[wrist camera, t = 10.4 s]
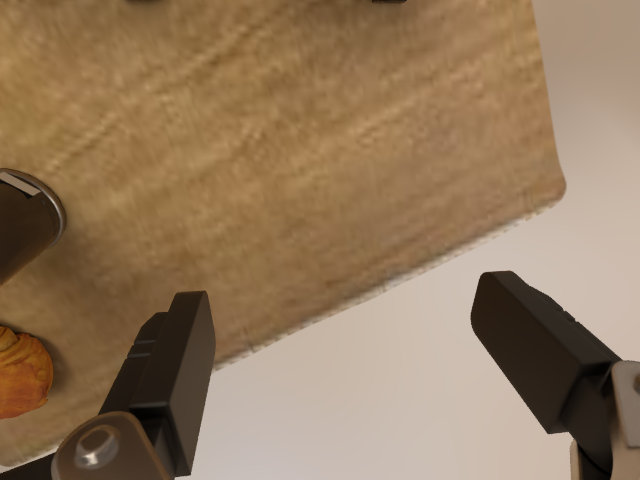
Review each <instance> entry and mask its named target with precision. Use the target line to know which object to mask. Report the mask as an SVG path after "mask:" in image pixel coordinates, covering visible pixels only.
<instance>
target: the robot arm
mask: <svg viewBox="0 0 640 480" xmlns="http://www.w3.org/2000/svg"><path fill="white" fill-rule="evenodd" d="M65 225H66V218H65V213H64V210H63V207H62V205H61V203H60V201H59V200H58V198H57V197H56V196H55V195H54V193H53V192H52V191H51V190H50V189H49V188H48V187H47V186H45V185H44V184H43V183H41V182H40V181H38V180H37V179H35V178H33V177H31V176H29V175H27V174H25V173H22V172H19V171H15V170H11V169H3V168H0V287H1V286H3V285H4V284H5V283H6V282H7V281H9V280H10V279H11V278H12V277H13V276H15V275H16V274H17V273H18V272H19V271H21V270H22V269H23V268H24V267H25V266H27V265H28V264H29V263H30V262H31V261H33V260H34V259H35V258H36V257H37V256H39V255H40V254H41V253H42V252H43V251H44V250H46V249H48V248H49V247H51V246H52V245H53V244H54V243H56V242H57V241H58V240H59V239H60V238H61V236H62V235H63V233H64V230H65ZM471 325H472V328H473V331H474V333H475V334H476V336H477V337H478V339H479V340H480V341H481V343H482V344H483V345H484V347H485V348H486V349H487V351H488V352H489V354H490V355H491V356H492V358H493V359H494V361H495V362H496V363H497V365H498V366H499V368H500V369H501V370H502V372H503V373H504V374H505V376H506V377H507V379H508V380H509V381H510V383H511V384H512V385H513V387H514V388H515V389H516V391H517V392H518V394H519V395H520V396H521V398H522V399H523V401H524V402H525V403H526V405H527V406H528V407H529V409H530V410H531V412H532V413H533V414H534V416H535V417H536V418H537V420H538V421H539V423H540V424H541V425H542V427H543V428H544V429H545V431H546V432H547V434H554V433H562V432H569V433H570V434H571V435H572V437H573V438H574V439H573V441H572V443H571V446H570V464H571V480H640V362H637V361H629V360H628V361H623V360H622V359H621V358H620V357H618V356H617V355H616V354H615V353H614V352H613V351H611V350H610V349H609V348H608V347H607V346H606V345H605V344H604V343H602V342H601V341H600V340H599V339H598V338H597V337H595V336H594V335H593V334H592V333H591V332H590V331H589V330H587V329H586V328H585V327H584V326H583V325H582V324H580V323H579V322H576V321H575V318H573V317H572V316H571V315H570V314H569V313H568V312H567V311H563V308H562V307H561V306H560V305H559V304H557V303H556V302H555V301H554V300H553V299H552V298H551V297H549V296H548V295H546V294H544V293H542V292H540V291H538V290H537V289H535V288H533V287H531V286H529V285H528V284H526V283H525V282H524V281H523V280H522V279H521V278H520V277H519V276H518V275H516V274H515V273H514V272H512V271H496V272H485V273H483V274H482V275H481V276H480V279H479V282H478V286H477V290H476V294H475V298H474V303H473V306H472V311H471ZM214 356H215V332H214V326H213V321H212V315H211V310H210V305H209V299H208V295H207V292H206V291H192V292H178V293H176V294H175V296H174V299H173V301H172V304H171V306H170V308H169V311H168V312H159V313H155V314H154V315H153V316H152V317H151V318H150V319H149V320H148V321H147V322H146V323H145V324H144V325H143V326H142V327H141V329H140V331H139V333H138V335H137V337H136V339H135V341H134V345H132V347H131V349H130V351H129V353H128V355H127V359H125V361H124V363H123V365H122V367H121V369H120V371H119V373H118V375H117V377H116V379H115V381H114V383H113V385H112V387H111V389H110V392H109V394H108V396H107V398H106V400H105V402H104V404H103V406H102V408H101V410H100V412H99V414H98V415H97V416H95V417H93V418H91V419H89V420H88V421H86V422H84V423H83V424H81V425H80V426H79V427H77V428H76V429H75V430H73V431H72V432H71V433H70V434H69V435H68V436H67V437H66V438H65V440H64V441H63V442H62V443H61V445H60V446H59V448H58V449H57V451H56V452H55V453H52V454H50V455H48V456H45V457H43V458H40V459H38V460H35V461H32V462H30V463H27V464H24V465H22V466H19V467H16V468H14V469H11V470H9V471H6V472H3V473H0V480H174V478H175V477H180V476H189V475H191V471H192V466H193V461H194V456H195V451H196V445H197V441H198V436H199V431H200V426H201V421H202V416H203V411H204V406H205V401H206V396H207V391H208V386H209V381H210V376H211V371H212V366H213V361H214Z"/></svg>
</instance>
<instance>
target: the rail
mask: <svg viewBox="0 0 640 480" xmlns="http://www.w3.org/2000/svg"><path fill="white" fill-rule="evenodd" d="M406 1H407V0H372V3H403V2H406Z"/></svg>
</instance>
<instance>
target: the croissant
mask: <svg viewBox="0 0 640 480" xmlns="http://www.w3.org/2000/svg"><path fill="white" fill-rule="evenodd" d="M53 374H54V372H53V365H52V360H51V358H50V356H49V354H48V352H47V351H46V350H45V348H44V347H43V345H42V344H41V343H40V341H39V340H38V339H37V338H34V337H30V336H29V334H28V333H20V334H17V335H15V334H14V333H13V331H12V330H11V329H10V328H8V327H2V326H0V419H4V418H13V417H17V416H19V415H21V414H24V413H26V412H29V411H31V410H34V409H37V408H40V407H41V406H43V405H44V404H45V403H46V402H47V401H48V400H47V399H46V396H47V395H48V392H49V389H50V387H51V385H52V381H53Z"/></svg>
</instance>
